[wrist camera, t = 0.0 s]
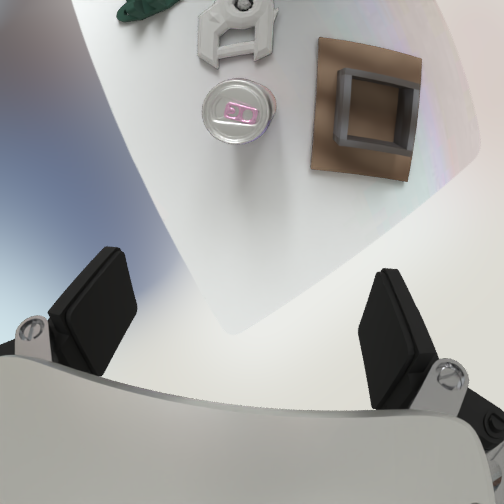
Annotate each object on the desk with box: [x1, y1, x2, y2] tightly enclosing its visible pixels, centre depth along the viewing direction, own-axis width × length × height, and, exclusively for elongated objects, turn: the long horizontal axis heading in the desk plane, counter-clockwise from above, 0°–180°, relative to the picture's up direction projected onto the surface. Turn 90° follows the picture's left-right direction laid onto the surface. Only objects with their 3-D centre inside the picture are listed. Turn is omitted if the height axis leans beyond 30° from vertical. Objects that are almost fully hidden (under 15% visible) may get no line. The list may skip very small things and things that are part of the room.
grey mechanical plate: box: [197, 0, 279, 69], centre depth 27 cm, size 18×3×10 cm
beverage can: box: [202, 78, 276, 144], centre depth 28 cm, size 6×6×15 cm
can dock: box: [311, 37, 422, 182], centre depth 30 cm, size 18×14×6 cm
